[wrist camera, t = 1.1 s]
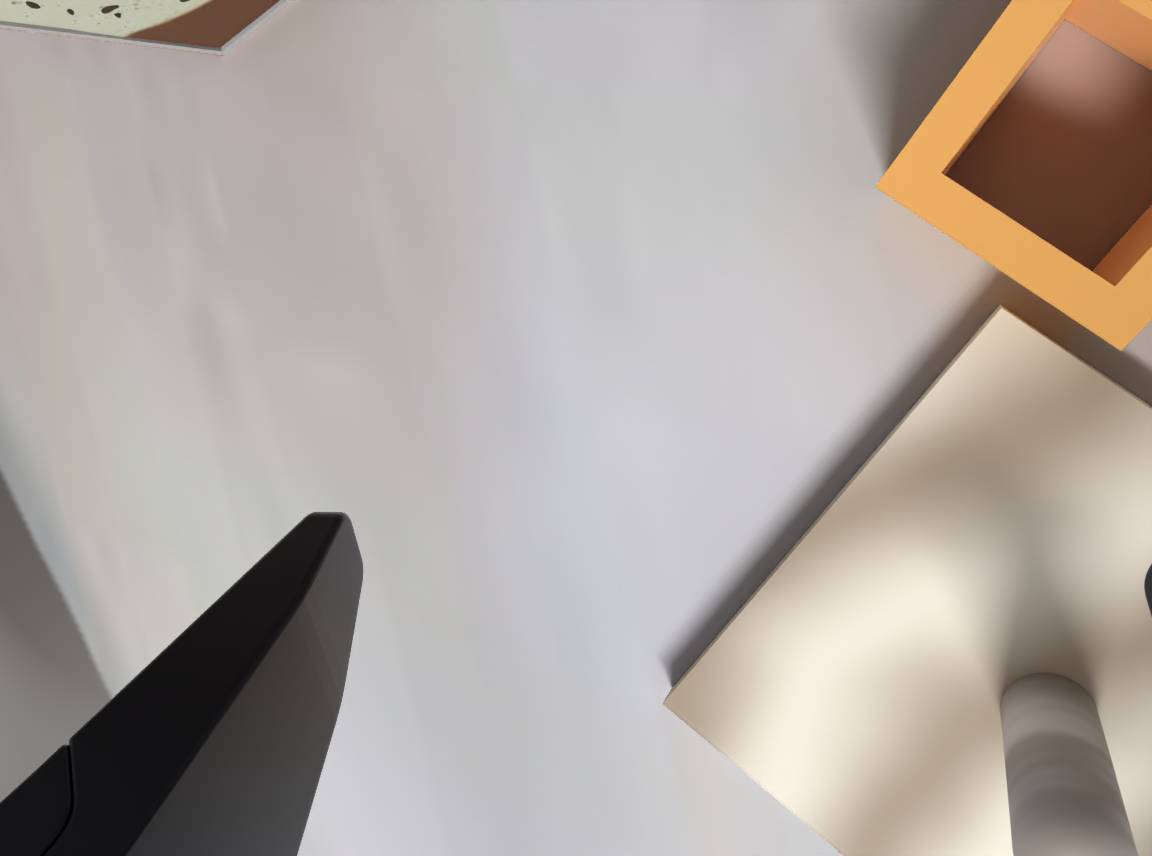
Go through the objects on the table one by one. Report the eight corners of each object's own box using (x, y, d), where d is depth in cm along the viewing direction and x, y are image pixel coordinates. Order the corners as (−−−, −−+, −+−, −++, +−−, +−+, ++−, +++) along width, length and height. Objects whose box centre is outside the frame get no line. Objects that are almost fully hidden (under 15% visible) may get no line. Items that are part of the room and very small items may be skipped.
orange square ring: (1303, 101, 20) (1379, 78, 16) (1095, 327, 23) (1121, 351, 19) (1058, -42, 21) (1079, -93, 18) (887, 189, 24) (875, 187, 20)
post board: (1590, 702, 20) (1869, 921, 14) (1083, 1032, 27) (1122, 1281, 21) (1000, 303, 23) (1016, 340, 17) (671, 688, 30) (596, 816, 24)
